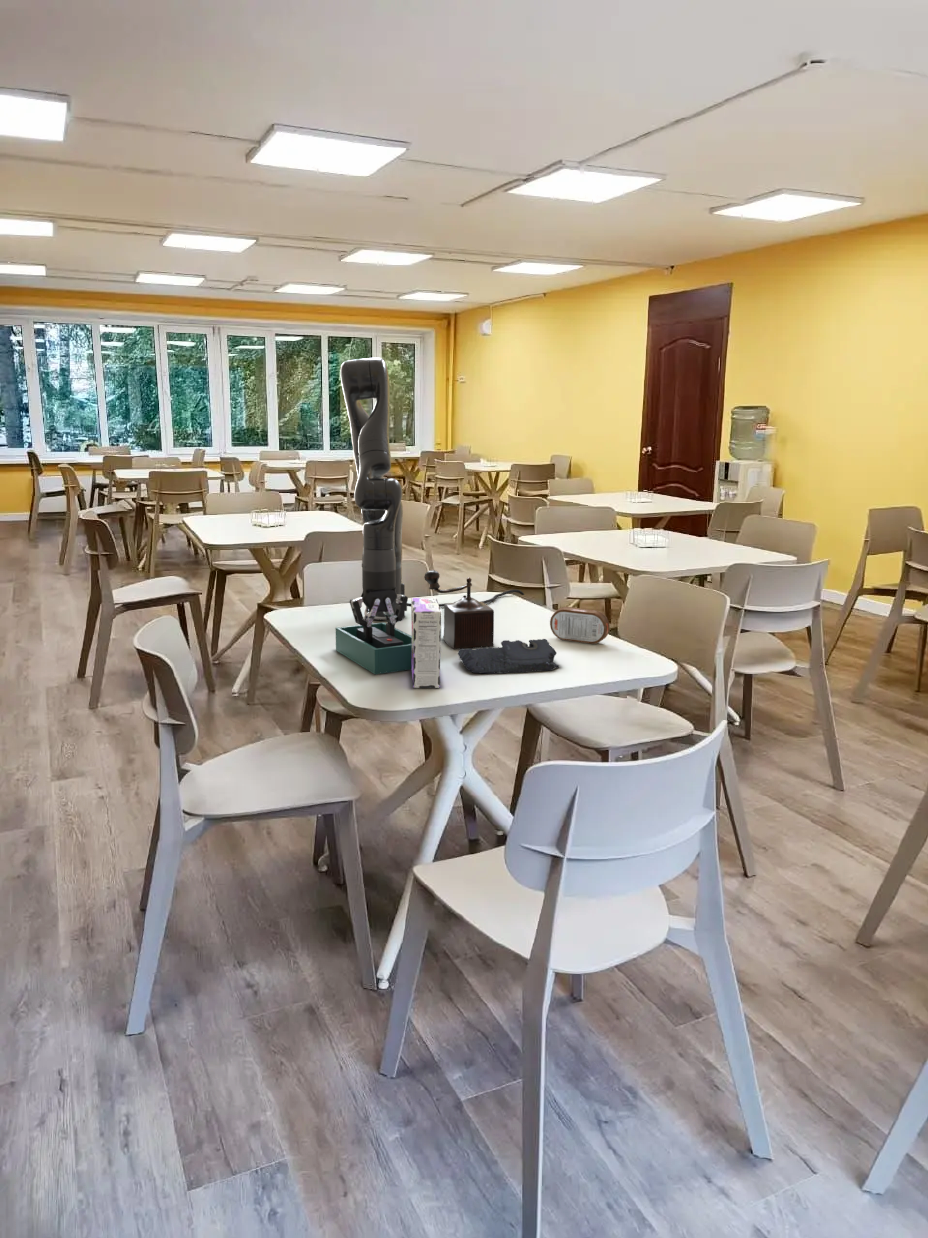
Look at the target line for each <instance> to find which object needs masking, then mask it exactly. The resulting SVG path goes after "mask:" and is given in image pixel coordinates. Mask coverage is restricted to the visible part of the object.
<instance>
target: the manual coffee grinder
mask: <svg viewBox="0 0 928 1238" xmlns="http://www.w3.org/2000/svg"><path fill="white" fill-rule="evenodd" d="M440 578H441V577H440V573H439V571H437V570H436V569H430V570H427V571H426V572H425V573H424V577H423V579H424V580H425V581H426V582H427V584H428V585H429V586H428V589H429V590H431V591H432V590H433V591H434V592H435V593H437V594H449V593H454V592H458V591H459V592H460V591H463V590H465V589H466V594H465V595H463V596H462V598H461V599H459V600H457V601H454V602H445V603H443V604H444V607H443V636H442V638H443V640H444V642H445V643H446V645H448V647H450V648H451V649H453V650H460V649H479V648H489V647H493V648H494V645H495V644H494V641H495V640H494V637H495V635H494V633H495V630H494V629H495V611H494V609H493V608H492V607H490V606H489V605H487V603H483V602H481V601H479V600H477V599H476V598H474V597H472V596H471V590H472V589H471V587H472V586H473V584H472V578H471V577H467V578H466V583H465V584H464V585H462V586H457V587H452V588H447V589H446V588H445V589H440V587H441V585H440V584H439V579H440Z"/></svg>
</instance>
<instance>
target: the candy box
mask: <svg viewBox="0 0 928 1238" xmlns="http://www.w3.org/2000/svg"><path fill="white" fill-rule="evenodd" d="M410 604H411V608H410V610H411V611H410V613H411V617H410V618H411V619H410V620H411V636H412V668H411V669H410V672H411V677H412V678H411V679H412V687H413V689H440V688H441V642H442V641H441V640H442V638H441V637H442V610H441V609H440V608H441V607H439V604H440V603H439V601H438V597H412V598H411V601H410Z"/></svg>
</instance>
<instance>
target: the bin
mask: <svg viewBox="0 0 928 1238" xmlns="http://www.w3.org/2000/svg"><path fill="white" fill-rule="evenodd" d="M386 624H387V622H384V621H383V622H374V623H372V626H371V627H375V628H377V629H379V630H381V631H383V632H385V633H386ZM359 628H364V627H363V626H362V625H359V624H356V625H349V626H337V627H335V651H336V652H338V653H339V654H341V655H342V656H344V657H346V658H347V659H349V660H351V661H352V662H354V663H355V664H357V665H358V666H360V667H362V668H364V669H365V670H367V671H369V672H370V673H372V674H373V675H381V674H382V675H383V674H389V673H397V672H402V671H403V672H404V671H409V670H410V671H411V668H412V634H408V633H407V632H405V631H402V630H400V629H398V628H396V627H395V636H394V637H395V638H397V639H399V640H401V641H403V645H400V646H393V647H385V648H375V647H373V646H371V645H369V644H368V643H366V642H364V641H362V640H360V639H359V638H357V629H359Z"/></svg>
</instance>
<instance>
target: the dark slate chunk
mask: <svg viewBox="0 0 928 1238" xmlns="http://www.w3.org/2000/svg"><path fill="white" fill-rule="evenodd" d="M528 643H529V644H528ZM528 643H527V642H523V641H522V640H519V639H518V640H517V639H516V640H514V641H510V640H509V639H508V640H507V639H506V640H502V641H501V642H500V645H501V647H500V646H498V647H497V646H496V647H494V646H493V647H484V648H471V649H458V652H457V655H458V657H459V660H460V661H461V662H462V664H463V666H464V667H465V668H466V669H467V670H468V671H469V672H472V673H474V674H486V675H493V674H513V673H514V674H515V673H516V674H517V673H531V672H545V671H547V672H548V671H553V670H555V669H559V667H560V665H559V664H557V663H556V662H554V661H555V660H554V659H555V656H557V651H556V650H555V648H554V647H553V646H552V645H551V644H550V642H549V641H548V639H546V638H542V639H541V638H539V639H538V638H537V639H529V640H528Z"/></svg>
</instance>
